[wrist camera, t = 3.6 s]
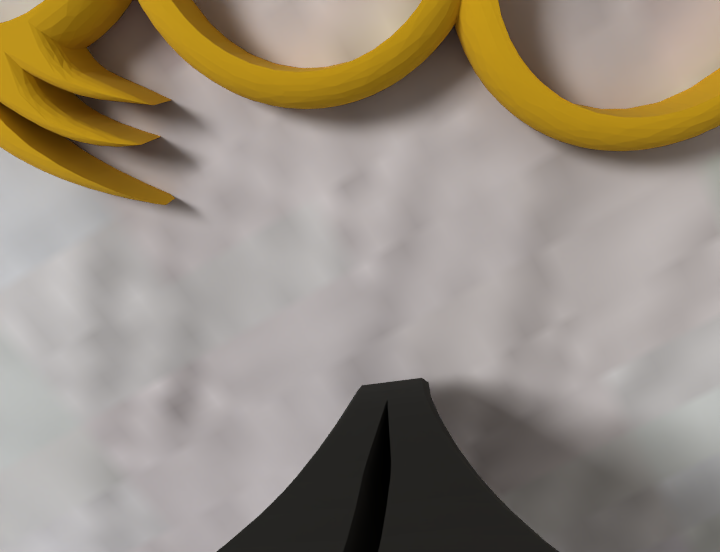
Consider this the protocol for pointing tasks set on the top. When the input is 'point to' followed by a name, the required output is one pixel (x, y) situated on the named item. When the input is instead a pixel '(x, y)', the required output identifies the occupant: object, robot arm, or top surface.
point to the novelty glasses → (282, 84)
